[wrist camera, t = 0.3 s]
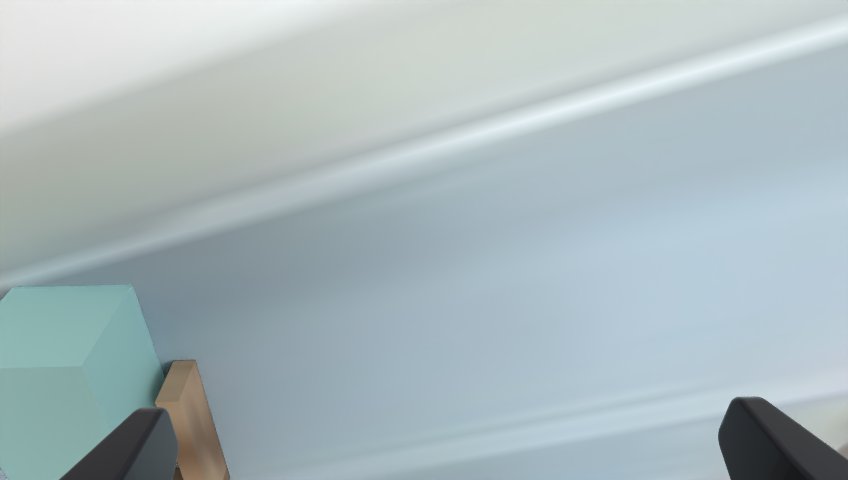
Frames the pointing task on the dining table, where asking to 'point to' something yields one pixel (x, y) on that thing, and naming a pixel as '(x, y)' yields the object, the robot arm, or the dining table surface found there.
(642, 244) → the dining table surface
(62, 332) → the blank block
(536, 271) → the dining table surface
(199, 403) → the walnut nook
